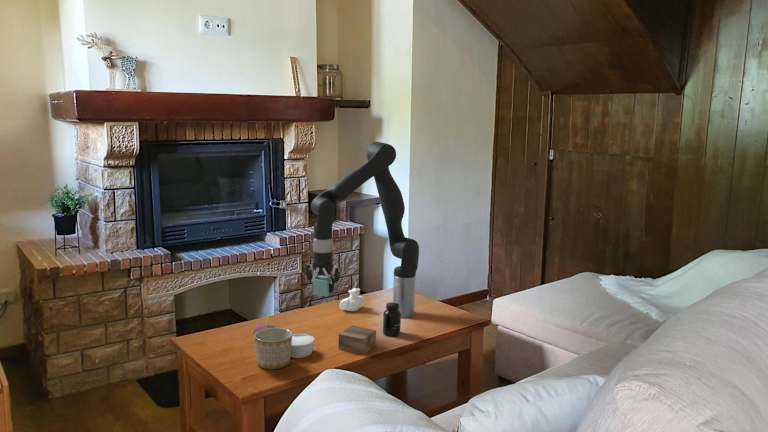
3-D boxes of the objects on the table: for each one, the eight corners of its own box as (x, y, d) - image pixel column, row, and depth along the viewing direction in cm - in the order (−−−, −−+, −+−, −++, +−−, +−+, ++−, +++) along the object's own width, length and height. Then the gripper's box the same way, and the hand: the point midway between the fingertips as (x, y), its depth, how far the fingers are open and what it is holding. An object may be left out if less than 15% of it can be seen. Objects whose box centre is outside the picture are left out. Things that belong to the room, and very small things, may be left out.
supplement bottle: (398, 337, 231) (399, 307, 229) (381, 336, 232) (381, 306, 230) (401, 331, 238) (402, 302, 235) (384, 329, 239) (385, 300, 237)
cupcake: (280, 340, 226) (280, 309, 224) (268, 348, 218) (268, 316, 216) (260, 337, 229) (259, 306, 226) (248, 345, 221) (247, 313, 219)
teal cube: (319, 290, 238) (319, 275, 236) (333, 292, 236) (333, 277, 235) (312, 294, 232) (312, 279, 231) (327, 296, 230) (327, 281, 229)
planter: (248, 361, 207) (248, 332, 205) (282, 353, 214) (282, 325, 212) (264, 374, 197) (263, 344, 195) (298, 365, 204) (298, 336, 202)
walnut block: (352, 340, 228) (352, 325, 227) (375, 345, 223) (376, 330, 222) (338, 349, 219) (338, 334, 218) (362, 355, 214) (363, 339, 213)
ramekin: (313, 346, 221) (313, 332, 220) (316, 358, 210) (316, 344, 209) (282, 348, 219) (281, 334, 218) (283, 360, 208) (283, 346, 207)
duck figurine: (341, 317, 258) (350, 302, 251) (333, 303, 262) (342, 287, 255) (364, 312, 265) (373, 297, 258) (356, 298, 269) (365, 283, 262)
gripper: (344, 249, 232) (344, 291, 235) (310, 245, 236) (310, 287, 239) (336, 253, 225) (336, 296, 228) (301, 250, 229) (302, 292, 232)
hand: (323, 291), depth 234 cm, fingers closed on teal cube, 6 cm apart
